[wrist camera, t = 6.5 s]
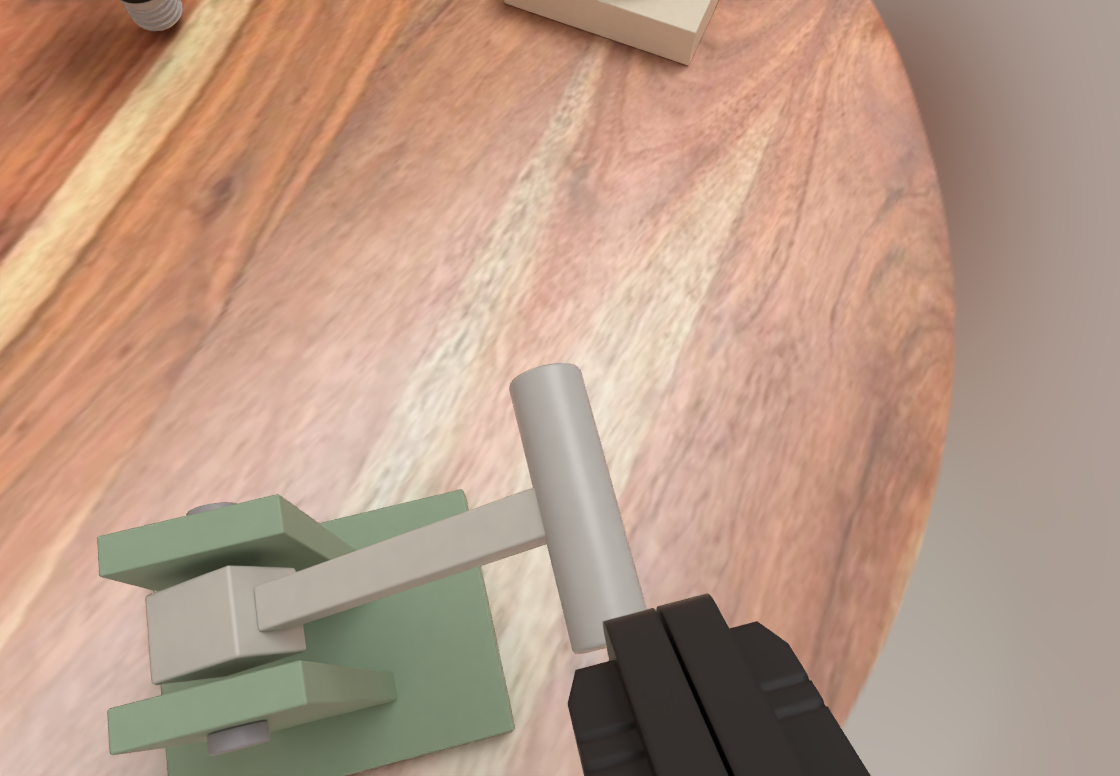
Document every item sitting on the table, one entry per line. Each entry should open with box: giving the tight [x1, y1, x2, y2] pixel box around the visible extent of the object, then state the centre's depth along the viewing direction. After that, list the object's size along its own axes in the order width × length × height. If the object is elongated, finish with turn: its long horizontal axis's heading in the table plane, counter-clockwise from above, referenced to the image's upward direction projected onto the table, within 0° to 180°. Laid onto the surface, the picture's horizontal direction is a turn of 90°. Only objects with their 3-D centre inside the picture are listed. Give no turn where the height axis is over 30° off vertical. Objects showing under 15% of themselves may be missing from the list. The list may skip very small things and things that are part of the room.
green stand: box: [97, 489, 515, 776], centre depth 25 cm, size 12×9×13 cm
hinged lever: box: [145, 363, 647, 685], centre depth 20 cm, size 12×6×2 cm, turn 104°
